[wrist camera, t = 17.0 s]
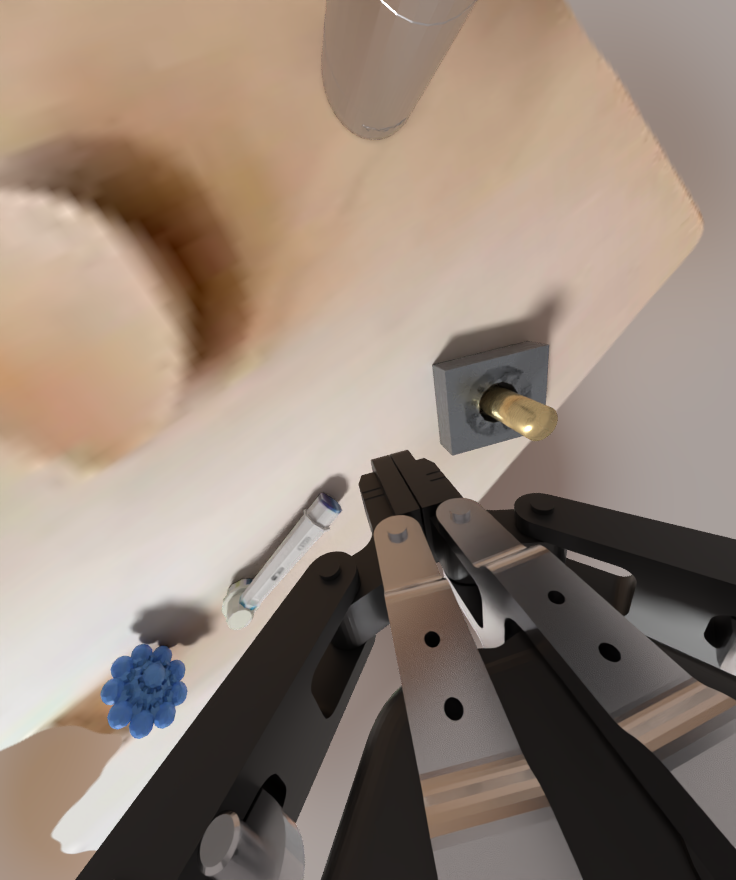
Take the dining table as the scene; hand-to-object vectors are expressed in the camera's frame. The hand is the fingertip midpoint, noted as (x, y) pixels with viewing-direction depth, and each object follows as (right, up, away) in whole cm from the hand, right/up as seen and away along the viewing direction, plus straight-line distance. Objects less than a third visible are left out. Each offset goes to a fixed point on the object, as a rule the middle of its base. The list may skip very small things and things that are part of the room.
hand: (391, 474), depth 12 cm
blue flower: (-35, -32, +40) cm, 62 cm away
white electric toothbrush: (-15, -16, +37) cm, 43 cm away
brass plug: (+16, +8, +32) cm, 37 cm away
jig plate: (+16, +8, +32) cm, 37 cm away
